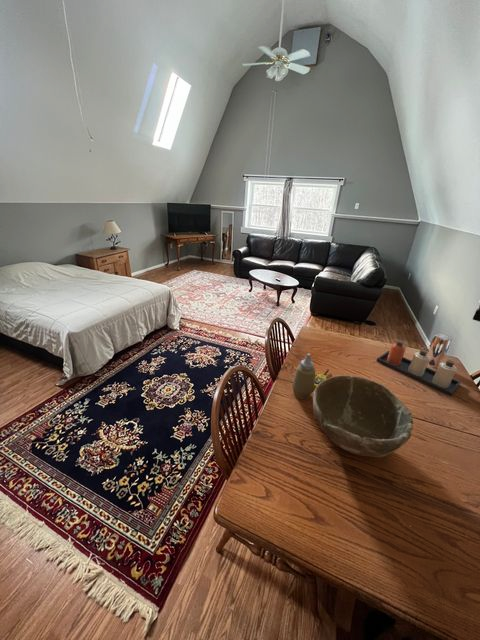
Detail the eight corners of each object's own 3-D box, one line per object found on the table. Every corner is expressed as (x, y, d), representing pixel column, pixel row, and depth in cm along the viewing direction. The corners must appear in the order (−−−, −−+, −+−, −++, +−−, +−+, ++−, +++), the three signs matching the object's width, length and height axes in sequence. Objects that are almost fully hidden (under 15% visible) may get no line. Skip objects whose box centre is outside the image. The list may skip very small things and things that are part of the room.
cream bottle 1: (425, 373, 117) (434, 351, 113) (420, 378, 114) (429, 356, 109) (411, 366, 121) (419, 346, 117) (405, 371, 118) (413, 350, 113)
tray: (459, 386, 111) (461, 382, 110) (450, 397, 104) (452, 393, 103) (387, 354, 131) (388, 350, 131) (375, 362, 125) (377, 358, 124)
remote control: (309, 382, 106) (323, 365, 117) (308, 385, 107) (322, 368, 118) (320, 387, 104) (334, 369, 114) (319, 391, 104) (333, 373, 115)
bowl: (360, 501, 67) (376, 460, 61) (289, 427, 87) (295, 391, 81) (417, 452, 81) (435, 415, 74) (344, 398, 101) (353, 365, 95)
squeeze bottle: (305, 404, 97) (313, 363, 89) (286, 394, 102) (292, 354, 94) (316, 394, 103) (324, 354, 95) (298, 384, 107) (304, 345, 100)
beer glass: (422, 365, 124) (434, 337, 117) (423, 359, 129) (434, 331, 123) (440, 371, 120) (453, 342, 114) (440, 364, 125) (453, 336, 119)
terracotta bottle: (402, 363, 124) (410, 342, 119) (397, 367, 121) (404, 346, 116) (389, 357, 128) (396, 337, 123) (384, 361, 125) (390, 340, 120)
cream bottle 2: (450, 384, 111) (461, 362, 106) (446, 390, 107) (456, 367, 103) (434, 377, 115) (444, 355, 110) (429, 382, 111) (439, 360, 107)
